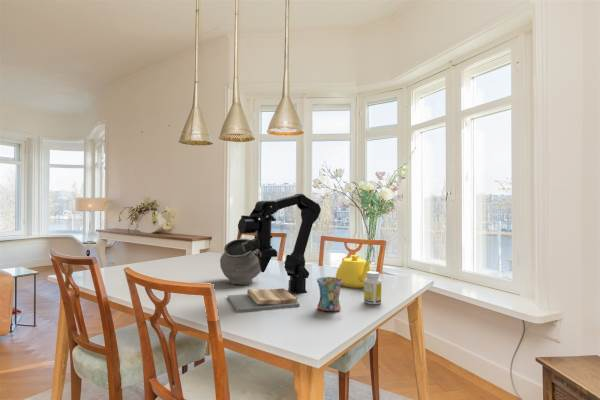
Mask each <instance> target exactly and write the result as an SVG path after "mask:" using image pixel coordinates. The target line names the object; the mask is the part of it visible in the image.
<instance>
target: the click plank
mask: <svg viewBox="0 0 600 400" xmlns="http://www.w3.org/2000/svg"><path fill="white" fill-rule="evenodd" d="M246 294H248V295H249V296H250V297H251V298H252V299H253V300H254V301H255V302H256V304H281V302H282V300H281V299H280V298H279V297H278V296H276V295H275V294H274V293H273V292H272V291H271V290H270V289H263V288H261V289H257V288H256V289H255V288H254V289H250V288H247V293H246Z"/></svg>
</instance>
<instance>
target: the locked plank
mask: <svg viewBox="0 0 600 400" xmlns="http://www.w3.org/2000/svg"><path fill="white" fill-rule="evenodd" d="M269 290H271V291H272V292H273V293H274V294H275V295H276V296H278V297H279V298H280V299H281V300H282V302H281V303H282V304H289V303H297V302H298V298H297V297H296V296H294V295H293V294H292V293H291V292H290V291H287V290H286V289H285V288H271V289H269Z"/></svg>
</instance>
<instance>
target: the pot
mask: <svg viewBox="0 0 600 400" xmlns="http://www.w3.org/2000/svg"><path fill="white" fill-rule="evenodd" d="M242 234H243V233H240V232H239V231H238V234H237V238H235V239H233V240H231V241H229V242H227V243H226V244H225V245H224V248H223V252H224V253H222V255H221V256H220V259H219V263H220V270H221V271H222V273H223V275H224V277H225V278H227V279H228V281H229V283H230V284H231V285H243V286H244V285H245V286H246V285H250V284H251V283H253V279H254V278H257V277H258V275H260V273H262V272H261V269H260V264H259V260H258V257H257V256H255V255H254V253H256V251H253V252H252V251H249V252H245V251H244V250H243V247H242V243H244V242H246V241H249V240H250V239H249V238H248V239H247V238H241V236H242Z"/></svg>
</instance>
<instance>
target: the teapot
mask: <svg viewBox="0 0 600 400" xmlns="http://www.w3.org/2000/svg"><path fill="white" fill-rule="evenodd" d="M350 257H351V258H349V257H345V258H343V260H342V261H341V263H340V264H339V266H338V267H337V270H336V273H335V278H340V279H342V280H343V282H342V284H341V286H343V287H346V288H356V289H357V288H358V289H360V288H361V289H362V288H363V289H364V280H365V279H366V278H367V272H368V271H373V270H372V267H370V266H371V263H372V260H368V261H367V260H366V259H362V258H359V255H358V254H351V255H350Z"/></svg>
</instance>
